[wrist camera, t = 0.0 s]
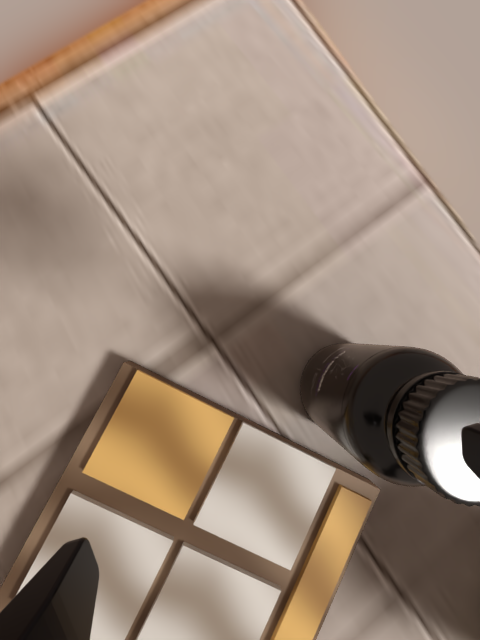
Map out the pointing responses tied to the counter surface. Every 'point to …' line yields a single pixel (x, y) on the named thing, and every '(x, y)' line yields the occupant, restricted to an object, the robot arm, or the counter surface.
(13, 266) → the counter surface
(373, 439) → the supplement bottle
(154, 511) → the wooden tray
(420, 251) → the counter surface
